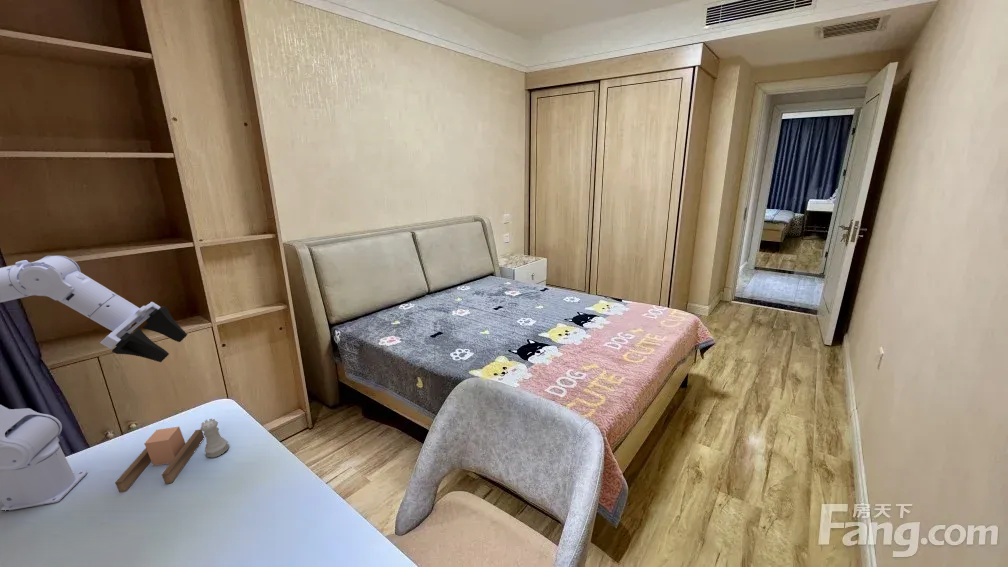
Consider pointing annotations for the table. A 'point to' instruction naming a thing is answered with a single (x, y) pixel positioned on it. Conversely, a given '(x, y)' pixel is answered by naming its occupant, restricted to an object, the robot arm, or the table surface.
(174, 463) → the walnut channel
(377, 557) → the table surface
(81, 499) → the table surface
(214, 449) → the rook chess piece
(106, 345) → the robot arm
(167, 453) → the terracotta block
